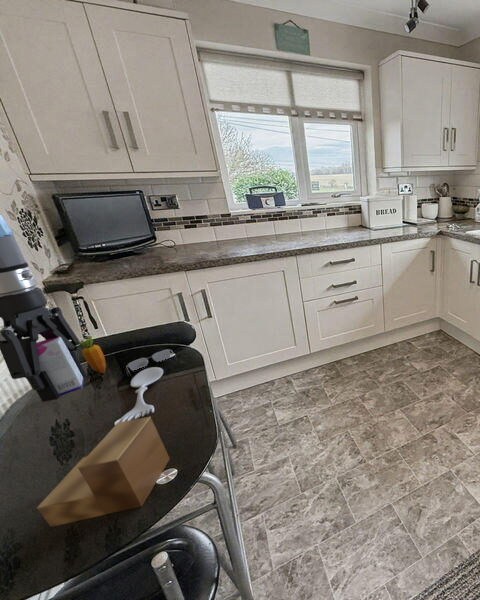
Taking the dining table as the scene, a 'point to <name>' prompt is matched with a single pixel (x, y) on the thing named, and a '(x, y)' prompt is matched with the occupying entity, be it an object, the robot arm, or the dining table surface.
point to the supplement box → (59, 365)
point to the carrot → (93, 355)
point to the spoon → (141, 382)
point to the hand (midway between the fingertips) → (65, 388)
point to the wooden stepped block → (110, 475)
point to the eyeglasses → (143, 361)
